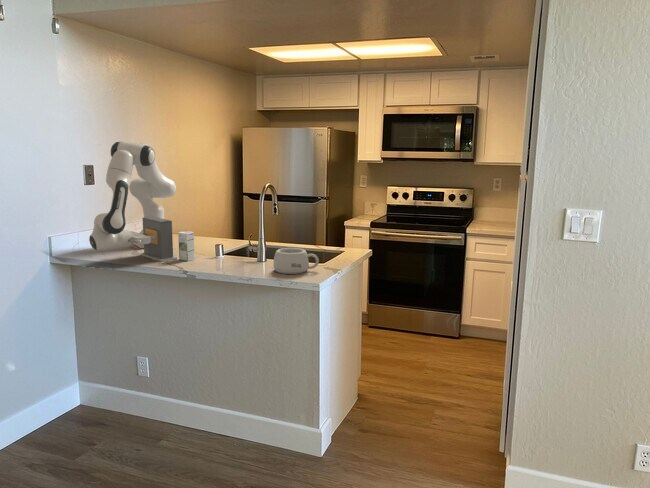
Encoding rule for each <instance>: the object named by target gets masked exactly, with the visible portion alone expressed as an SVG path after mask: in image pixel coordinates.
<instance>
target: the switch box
mask: <svg viewBox="0 0 650 488" xmlns="http://www.w3.org/2000/svg"><path fill="white" fill-rule="evenodd" d="M145 228H150V229H154V230H158V245H157V244H153V243H150V244H144V248H143V252H141V253H140V256H143V257H146V258H149V259H151V260H154V261H157V262H160V263H163V262H169V261H175V260H177V259H178V257H177V256H175V255H174V246H173V245H174V243H173V242H174V240H173V239H174V238H173V221H172V220H169V219H165V218H164V219H161V218H157V217H145V218H144V217H142V229H143V233H146V231H145Z"/></svg>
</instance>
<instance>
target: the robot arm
mask: <svg viewBox="0 0 650 488" xmlns="http://www.w3.org/2000/svg"><path fill="white" fill-rule="evenodd" d="M110 156H111V158H110V160H109V161H110V162H109V164H108V167H107V172H106V177H105V182H106V185H107V186H108V187H109V188H110V189H111V191H112V200H111V205H110V210H109V211H108V212H104V213H99V214H98V215H96V216H95V218H94V220H93V224H94V225H93V229H92V232H91V234H90V236H89V237H88V239H89V244H90V246H91V247H92V249H93V250H95V251H97V252H98V251H99V252H100V251H102V252H103V251H104V252H105V251H112V250H115V249H116V250H117V249H119V250H121V249H128V248H131V247H132V245H135V246H136V247H138V248H139V249H144V244H150V243H151V240H155V239H156V236H147V234H146V233H143V228H141V231H140V232H135V231H131V230H128V229H127V230H126V229H125V227H126V215H125V212H126V206H127V200H128V195H129V193H130V194H131V195H132V197H135V199H136V200H137V201H138V202H139V203H140V205H141V207H142V212H143V218H145V217H157V218H161V219H165V210H164V207H163V206H162V205H161V204H158V203H157V202H155V201H154V199H165V198H170V197H174V196H175V194H176V192H177V185H176V183H175V181H174V180H172V179H170V178H168V177H167V176H166V175H165V174H163V173H162V171H160V169H159V167H158V164H157V159H156V152H155V150H154V149H153V147H152V146H150V145H149V144H147V143H144V142H140V143H137V142H125V141H116V142H114V143H113V144H112V145H111V148H110ZM133 167H134V168H135V170H136V173H137V175H138V177H139V178H136V179H135V178H134V179H132V180H131V178H132V173H133V170H134V168H133Z"/></svg>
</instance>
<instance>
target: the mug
mask: <svg viewBox="0 0 650 488" xmlns="http://www.w3.org/2000/svg"><path fill="white" fill-rule="evenodd" d="M310 257H313V258H314V259H315V263H314V264H312V265H310V263H309V261H310V260H309V258H310ZM319 262H320V259H319V257H318V256H317V254H314V253H308V252H307V251H306V249H303V248H299V247H286V248H285V247H282V248H279V249H277V250H276V251H275V253H274V257H273V269H274V271H275V272H276V273H279V274H283V275H297V274H303V273H306V272H307V271H308V270H311V269H314V268H316V267H318V266H319V264H320V263H319Z"/></svg>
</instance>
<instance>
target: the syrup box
mask: <svg viewBox="0 0 650 488" xmlns="http://www.w3.org/2000/svg"><path fill="white" fill-rule="evenodd" d="M177 235H178V254H179V255H178V257H179V259H178V260H179V261H185V262H190V261H193V260H195V259H196V258H195V257H196V256H195V233H194V231H187V230H182V231H180V232H179V231H178V232H177Z"/></svg>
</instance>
